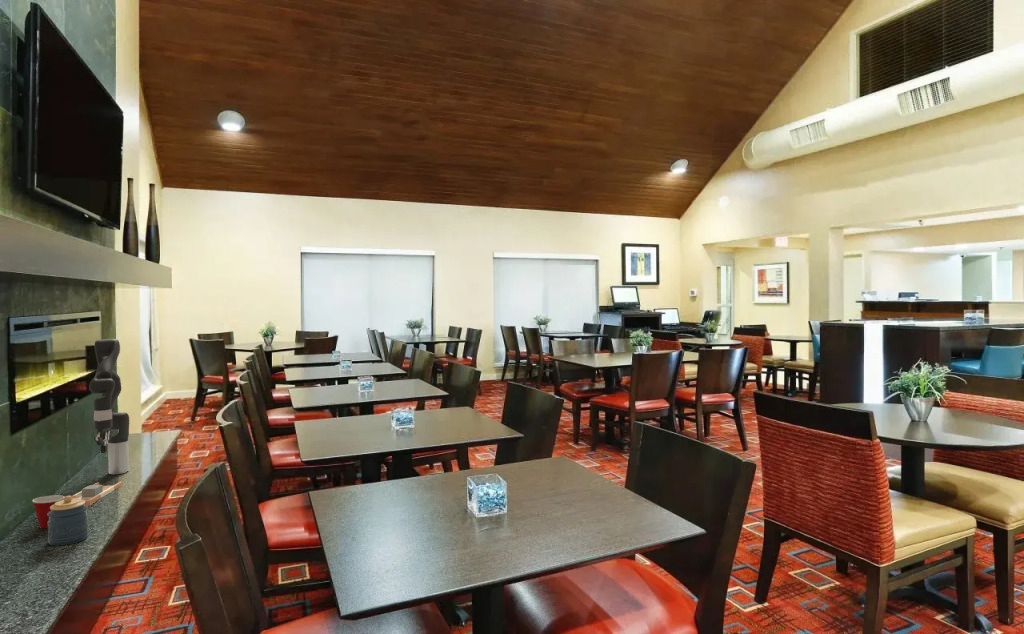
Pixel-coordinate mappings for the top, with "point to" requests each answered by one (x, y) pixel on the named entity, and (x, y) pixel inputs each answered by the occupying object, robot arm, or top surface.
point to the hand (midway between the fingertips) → (103, 452)
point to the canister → (67, 521)
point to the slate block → (92, 490)
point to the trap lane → (92, 500)
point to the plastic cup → (45, 508)
